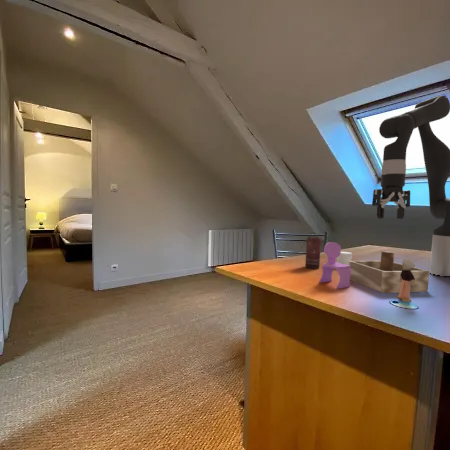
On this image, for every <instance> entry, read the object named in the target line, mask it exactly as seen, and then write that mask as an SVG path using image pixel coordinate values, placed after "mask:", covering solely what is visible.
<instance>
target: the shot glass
mask: <svg viewBox="0 0 450 450" xmlns="http://www.w3.org/2000/svg"><path fill="white" fill-rule="evenodd" d="M352 259H353V252H350V251H342V250H341V252H340V255H339V256H338V257H336V262H337V263H340V264H344V265H349V261H352Z"/></svg>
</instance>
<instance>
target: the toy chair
mask: <svg viewBox="0 0 450 450" xmlns="http://www.w3.org/2000/svg"><path fill="white" fill-rule="evenodd" d="M341 251H342V247H341V245H340V244H339V243H337V242H334V241H329V242H327V243H326V244H325V245H324V247H323V252H324V253H323V254H325V255H326V256H327V257H326V259H327V262H325V263H324V262H323V264H322V266H321V267H322V269H321V270H322V274H321V278H320V279H319V280H318V283H327V282H332V281H333V279H332V276H333V272H334V270H336V271H337V272H338V275H339V281H338V284H337V285H336V289H343V288H349V287H350V285H351V283H350V282H351V280H350V275H351V268H350V267H351V266H349V265H344V264H340V263H337V261H336V260H337V257H338V256H339V255H340V252H341Z"/></svg>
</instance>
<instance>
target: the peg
mask: <svg viewBox="0 0 450 450" xmlns="http://www.w3.org/2000/svg"><path fill="white" fill-rule="evenodd" d="M394 259H395V252H393V251H386V250H385V251H383V250H382V251H381V254H380V261H381V265H380V270H382V271H393V262H395V261H394Z"/></svg>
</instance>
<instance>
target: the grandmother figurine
mask: <svg viewBox="0 0 450 450" xmlns="http://www.w3.org/2000/svg"><path fill="white" fill-rule="evenodd" d="M402 264H403V265H402V268H403V269H404V270H403V271H402V272H401V275H400V280H401V281H402V282H401V286H400V290H399V292H398V295H396V298H397V299H399V300H400V301H402V302H404V303H405V302H406V303H407V302H409V303H410V302H411V303H412V300H411V292H410V283H411V285H412V286H415V278H414V276H413V274H412V272H411V271H410V270H411V269H412V268H413V267H415V268H416V264H415V262H414V261H413V260H412V259H411V258H404V259H403V260H402Z"/></svg>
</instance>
